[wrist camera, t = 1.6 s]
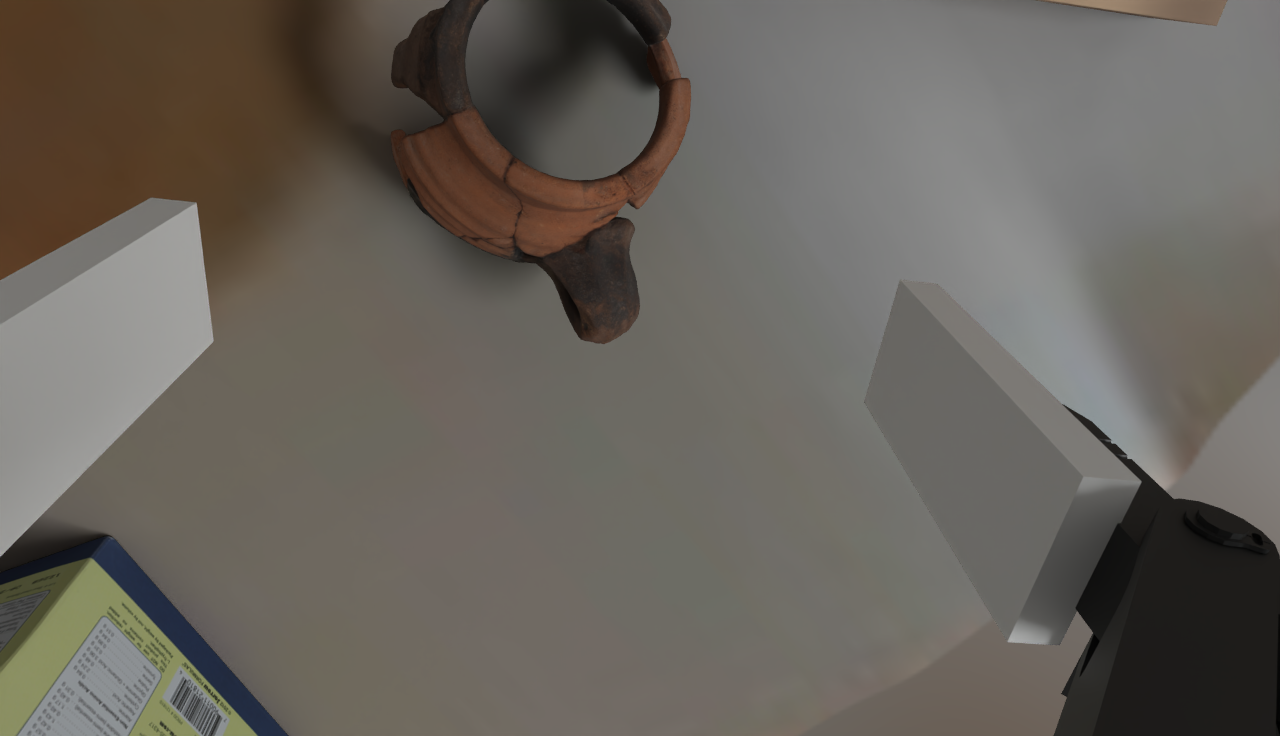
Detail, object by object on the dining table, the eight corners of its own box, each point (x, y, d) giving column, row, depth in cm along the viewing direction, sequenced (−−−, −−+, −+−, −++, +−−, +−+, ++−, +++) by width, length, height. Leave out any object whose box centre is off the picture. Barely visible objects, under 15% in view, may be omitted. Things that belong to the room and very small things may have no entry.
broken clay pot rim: (328, 76, 27) (326, -28, 19) (565, -17, 30) (646, -139, 22) (494, 386, 30) (552, 402, 22) (700, 273, 32) (815, 252, 25)
